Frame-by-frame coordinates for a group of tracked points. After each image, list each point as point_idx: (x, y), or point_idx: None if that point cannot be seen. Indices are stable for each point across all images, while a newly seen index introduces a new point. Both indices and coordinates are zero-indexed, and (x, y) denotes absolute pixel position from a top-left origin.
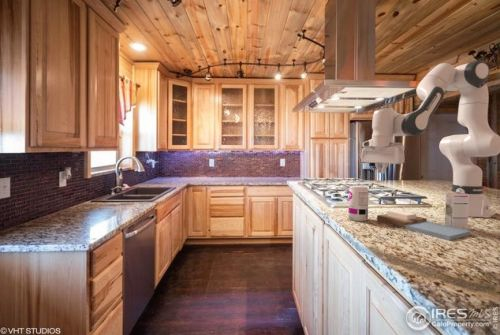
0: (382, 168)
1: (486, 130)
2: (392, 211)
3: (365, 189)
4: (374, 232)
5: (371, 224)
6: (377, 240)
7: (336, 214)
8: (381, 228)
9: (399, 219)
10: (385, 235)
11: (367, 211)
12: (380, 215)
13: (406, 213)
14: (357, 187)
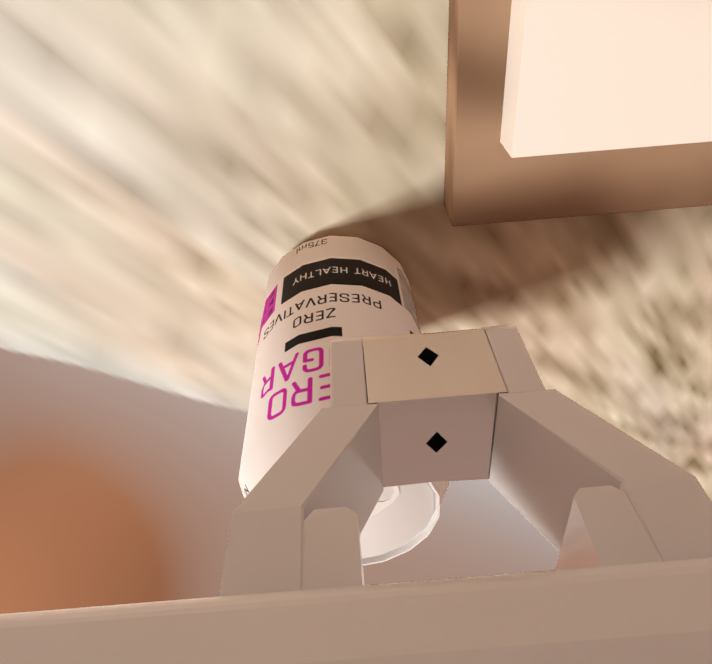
0: (530, 501)
1: None
2: (552, 125)
3: (444, 489)
4: (598, 397)
5: (484, 304)
6: (671, 458)
7: (148, 332)
8: (579, 316)
9: (644, 165)
10: (663, 387)
11: (411, 307)
12: (466, 199)
13: (691, 68)
14: (398, 553)
